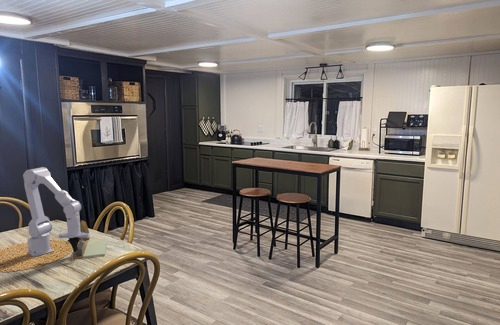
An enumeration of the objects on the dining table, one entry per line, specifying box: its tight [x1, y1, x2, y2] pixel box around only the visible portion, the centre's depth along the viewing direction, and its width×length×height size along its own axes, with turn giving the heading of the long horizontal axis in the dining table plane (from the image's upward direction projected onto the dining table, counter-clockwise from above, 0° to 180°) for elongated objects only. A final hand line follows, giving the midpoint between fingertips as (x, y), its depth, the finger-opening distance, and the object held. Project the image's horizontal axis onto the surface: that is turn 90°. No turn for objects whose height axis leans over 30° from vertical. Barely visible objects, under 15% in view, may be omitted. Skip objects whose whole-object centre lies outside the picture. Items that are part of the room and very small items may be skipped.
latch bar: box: [76, 243, 84, 256], centre depth 175 cm, size 9×3×3 cm, turn 20°
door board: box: [71, 238, 109, 260], centre depth 181 cm, size 22×15×4 cm
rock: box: [80, 220, 91, 241], centre depth 197 cm, size 11×9×10 cm
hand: (75, 251), depth 173 cm, fingers closed
